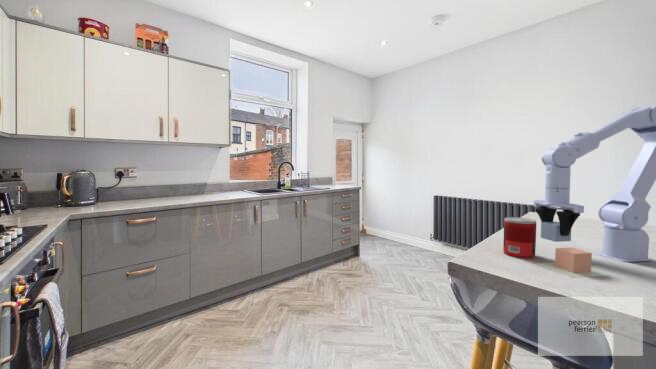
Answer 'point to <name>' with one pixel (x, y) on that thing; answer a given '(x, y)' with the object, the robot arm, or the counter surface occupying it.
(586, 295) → the counter surface
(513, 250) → the canned food
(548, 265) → the plate
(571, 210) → the robot arm
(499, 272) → the counter surface
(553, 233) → the blue brick
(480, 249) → the counter surface
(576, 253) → the terracotta brick
